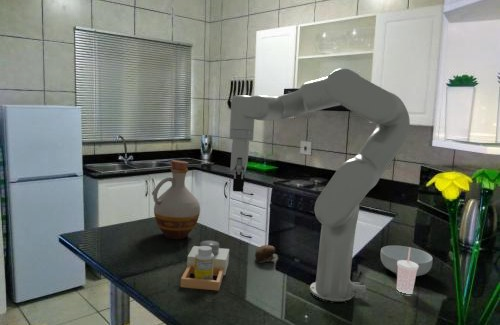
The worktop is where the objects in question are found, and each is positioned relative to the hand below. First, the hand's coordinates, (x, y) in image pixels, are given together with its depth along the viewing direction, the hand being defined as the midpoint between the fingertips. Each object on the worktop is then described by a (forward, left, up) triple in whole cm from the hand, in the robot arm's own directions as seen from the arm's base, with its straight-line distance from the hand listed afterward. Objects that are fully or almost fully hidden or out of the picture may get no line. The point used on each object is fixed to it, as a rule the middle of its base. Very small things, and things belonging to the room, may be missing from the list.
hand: (238, 188), depth 130 cm
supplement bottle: (+8, +13, -26) cm, 30 cm away
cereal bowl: (-58, -8, -27) cm, 64 cm away
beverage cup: (-53, +8, -26) cm, 60 cm away
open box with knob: (+8, +8, -26) cm, 29 cm away
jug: (+26, -25, -26) cm, 45 cm away
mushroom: (-10, -7, -27) cm, 29 cm away
